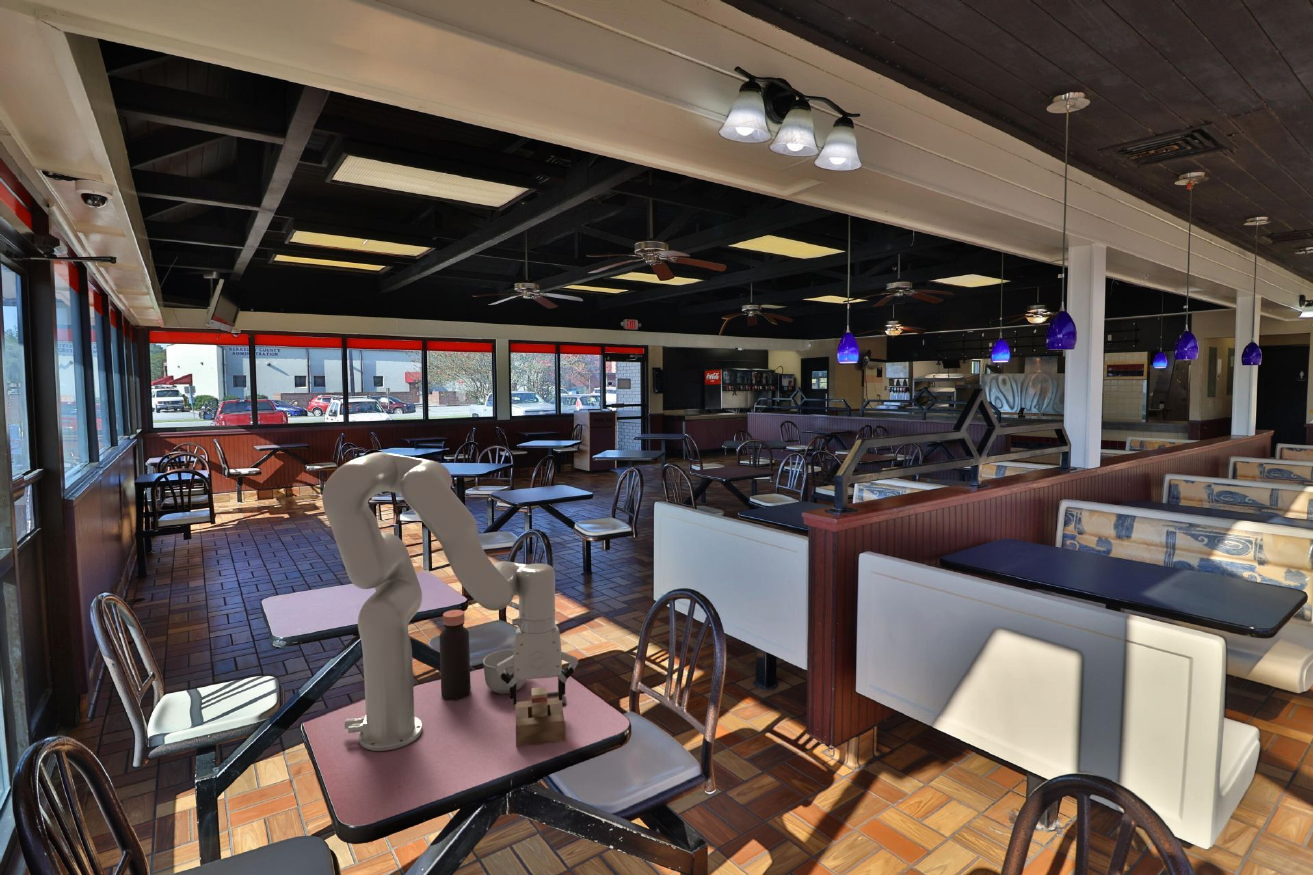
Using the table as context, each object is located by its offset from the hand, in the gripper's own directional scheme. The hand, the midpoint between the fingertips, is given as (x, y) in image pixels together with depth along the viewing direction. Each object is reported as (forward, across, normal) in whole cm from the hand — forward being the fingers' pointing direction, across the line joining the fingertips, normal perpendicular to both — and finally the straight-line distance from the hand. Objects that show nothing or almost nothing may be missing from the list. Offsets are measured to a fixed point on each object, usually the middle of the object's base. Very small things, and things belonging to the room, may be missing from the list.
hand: (537, 699), depth 142 cm
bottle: (+8, -19, +21) cm, 29 cm away
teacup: (+7, -6, +22) cm, 24 cm away
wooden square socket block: (+7, 0, 0) cm, 7 cm away
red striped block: (+7, 0, 0) cm, 7 cm away
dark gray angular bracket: (+7, +3, +12) cm, 15 cm away
